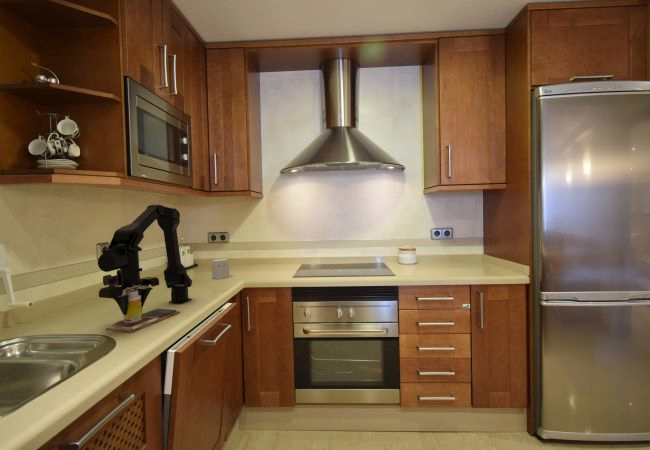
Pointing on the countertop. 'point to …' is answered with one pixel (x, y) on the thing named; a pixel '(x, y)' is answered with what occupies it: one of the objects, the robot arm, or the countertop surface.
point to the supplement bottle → (133, 307)
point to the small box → (220, 269)
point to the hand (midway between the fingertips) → (132, 312)
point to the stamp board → (143, 321)
